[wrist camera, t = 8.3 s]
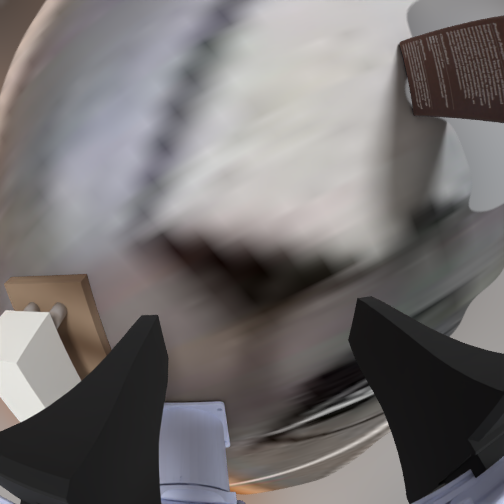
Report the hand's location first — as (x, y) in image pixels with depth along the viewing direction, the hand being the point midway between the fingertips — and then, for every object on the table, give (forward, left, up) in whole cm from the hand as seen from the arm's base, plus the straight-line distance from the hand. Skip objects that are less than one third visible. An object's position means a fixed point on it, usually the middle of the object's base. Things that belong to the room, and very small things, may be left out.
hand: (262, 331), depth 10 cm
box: (+12, -14, -10) cm, 21 cm away
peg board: (-8, +15, -9) cm, 19 cm away
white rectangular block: (-8, +15, -6) cm, 18 cm away
